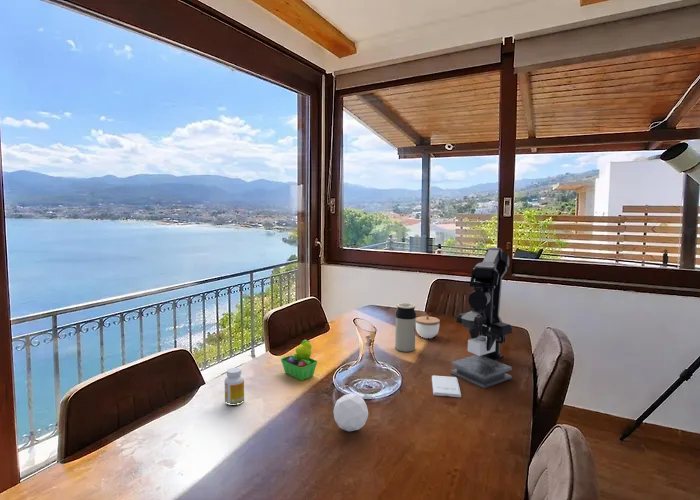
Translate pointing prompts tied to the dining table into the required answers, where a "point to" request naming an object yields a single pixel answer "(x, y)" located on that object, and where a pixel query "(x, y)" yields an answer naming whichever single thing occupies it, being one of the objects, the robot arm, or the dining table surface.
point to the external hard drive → (445, 386)
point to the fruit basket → (300, 362)
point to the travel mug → (405, 327)
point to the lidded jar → (427, 326)
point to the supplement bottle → (234, 386)
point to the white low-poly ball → (350, 412)
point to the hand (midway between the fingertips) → (481, 348)
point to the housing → (480, 346)
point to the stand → (481, 370)
